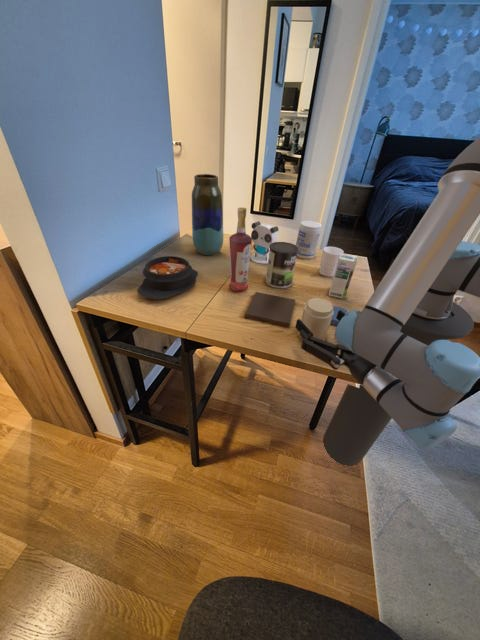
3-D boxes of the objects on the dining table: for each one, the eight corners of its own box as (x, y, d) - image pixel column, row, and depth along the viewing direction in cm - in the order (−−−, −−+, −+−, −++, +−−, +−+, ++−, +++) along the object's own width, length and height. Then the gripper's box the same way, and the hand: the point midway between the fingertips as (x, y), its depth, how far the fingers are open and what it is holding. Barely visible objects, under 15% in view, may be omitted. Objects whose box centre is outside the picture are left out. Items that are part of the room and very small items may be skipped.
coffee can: (297, 283, 101) (304, 248, 92) (279, 291, 95) (285, 255, 87) (277, 273, 107) (282, 239, 98) (259, 280, 101) (263, 245, 92)
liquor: (238, 296, 91) (243, 213, 74) (224, 288, 95) (224, 208, 78) (252, 289, 95) (259, 209, 78) (237, 281, 99) (241, 204, 82)
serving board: (294, 303, 89) (295, 299, 88) (288, 327, 79) (289, 323, 78) (255, 295, 92) (255, 291, 91) (244, 317, 81) (244, 313, 81)
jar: (326, 329, 79) (335, 300, 72) (325, 346, 72) (335, 316, 66) (299, 323, 80) (306, 294, 74) (296, 339, 74) (303, 309, 68)
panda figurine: (244, 257, 117) (246, 224, 108) (259, 250, 124) (262, 218, 115) (265, 266, 111) (269, 231, 102) (280, 258, 118) (285, 225, 109)
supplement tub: (292, 257, 120) (297, 224, 111) (296, 249, 127) (302, 219, 118) (313, 261, 118) (320, 228, 109) (316, 253, 125) (323, 222, 116)
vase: (193, 246, 125) (189, 172, 106) (222, 246, 127) (222, 173, 108) (192, 258, 114) (187, 178, 95) (224, 258, 116) (225, 179, 97)
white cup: (340, 274, 108) (348, 252, 102) (328, 279, 104) (334, 255, 98) (326, 267, 113) (332, 245, 107) (313, 271, 109) (319, 248, 103)
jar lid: (317, 316, 84) (318, 312, 82) (331, 307, 88) (332, 303, 87) (340, 329, 79) (342, 324, 78) (353, 319, 83) (355, 314, 82)
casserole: (170, 266, 107) (167, 247, 102) (209, 277, 101) (209, 257, 96) (125, 295, 88) (119, 272, 83) (169, 310, 83) (166, 287, 78)
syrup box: (328, 295, 94) (339, 258, 85) (329, 288, 99) (340, 252, 90) (344, 299, 93) (357, 261, 84) (345, 291, 97) (357, 255, 88)
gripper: (323, 401, 55) (276, 338, 70) (409, 371, 62) (350, 320, 78) (333, 378, 50) (280, 315, 65) (424, 349, 58) (358, 299, 73)
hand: (318, 318), depth 72 cm, fingers open, 13 cm apart
